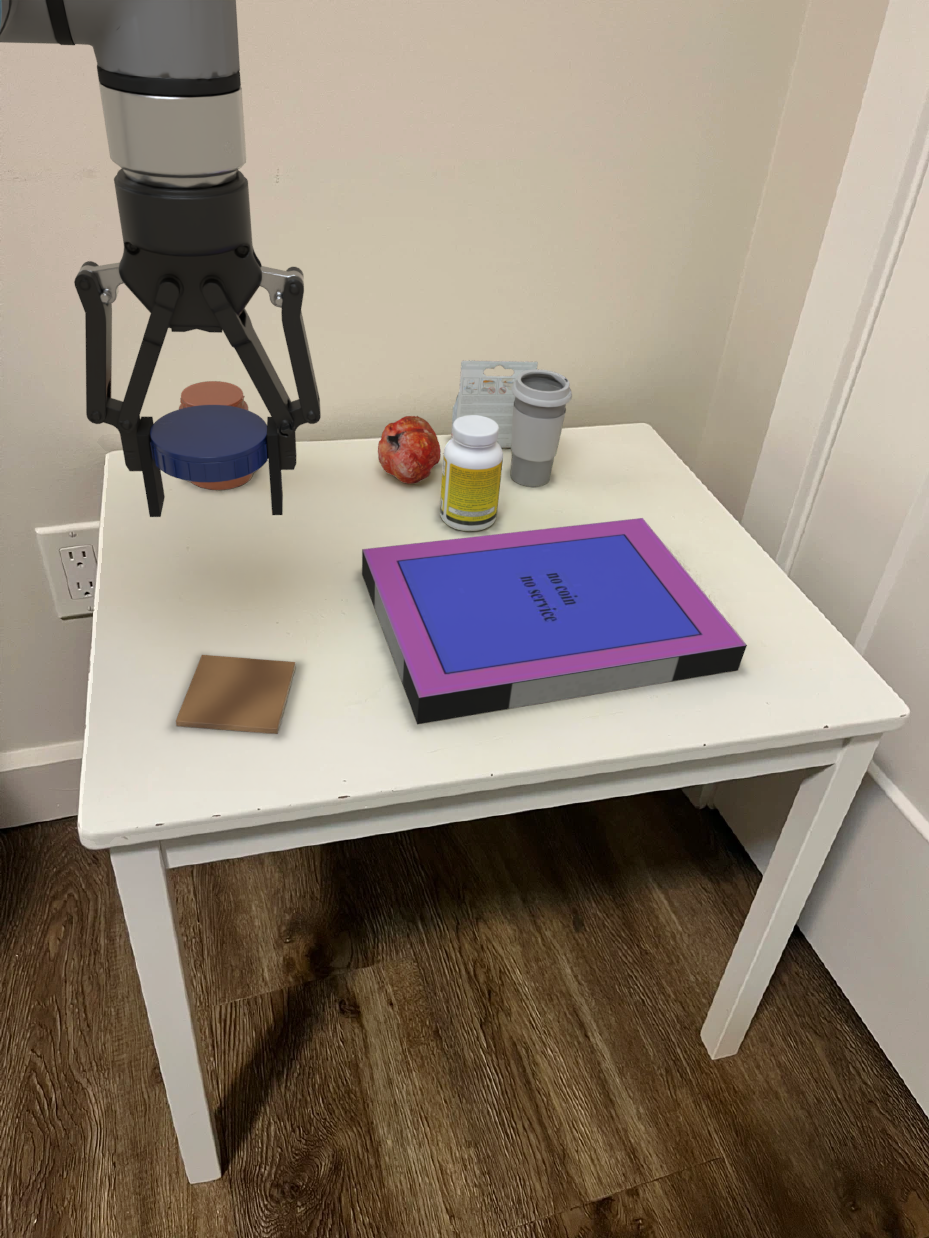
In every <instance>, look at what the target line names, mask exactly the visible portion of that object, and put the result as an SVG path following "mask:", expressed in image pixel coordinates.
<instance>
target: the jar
mask: <svg viewBox="0 0 929 1238" xmlns="http://www.w3.org/2000/svg"><path fill="white" fill-rule="evenodd" d="M179 400H180V401H179V403H180V404H179V405H178V410H179V409H182V408H186V407H192V406H199V405H226V406H233V407H238V408H242V409H245V410H248V411H250V410H249V405H248V403H247V402H246V401H245V395H244V392H243V389H241V387H239V386H238V385H236V384H234V383H231V382H227V381H221V380H219V381H218V380H207V381H199V382H196V383H192V384H190V385H187V386H186V387H185V388H183V390H182V391H181V392H180V399H179ZM253 476H254V472H253V473H251V474H249V475H247V476H244V477H241V478H238V479H234V480H229V481H222V482H192V481H189V482H190V483H191V484H193V485H194V486H196V487H199V488H201V489H206V490H212V491H222V490H224V491H225V490H231V489H235V488H238V487H242V486H243V485H246V484H247V483H248V482H249V481H251V479H252V478H253Z"/></svg>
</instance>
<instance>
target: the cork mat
mask: <svg viewBox="0 0 929 1238" xmlns="http://www.w3.org/2000/svg"><path fill="white" fill-rule="evenodd" d="M296 664H297V663H296V661H287V660H273V659H262V658H250V657H249V658H248V657H237V656H224V655H212V654H211V655H210V654H201V656H200V659H199V661H198V663H197V666H196V669H195V671H194V674H193V675H192V677H191V681H190V683H189V686H188V689H187V691H186V693H185V697H184V699H183V701H182V704H181V706H180V708H179V711H178V713H177V717H176V719H175V726H176V727H181V728H182V727H183V728H196V729H207V730H209V729H210V730H220V731H221V730H222V731H235V732H236V731H237V732H246V733H248V732H249V733H260V734H273V735H274V734H275V735H278V734H279V730H280V726H281V724H282V723H281V722H282V719H283V716H284V712H285V708H286V704H287V700H288V698H289V693H290V690H291V685H292V682H293V678H294V674H295V671H296Z"/></svg>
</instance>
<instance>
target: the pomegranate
mask: <svg viewBox="0 0 929 1238" xmlns="http://www.w3.org/2000/svg"><path fill="white" fill-rule="evenodd" d="M439 442H440V441H439V439H438V436H437V433H436V431H435V430H434V428H433V427H432V426H431V424H430V423H429V422H428V420H426V419H425V418H423V417H421V416H418V415H406V416H403V417H401V418H400V419H398V420H395V421H394V422H389V423H388V424H387V425H385V426H384V429H383V430H382V432H381V437H380V440H378V444H377V456H378V457H377V458H378V462H379V464H380V466H381V467H382V469H383V471H385V472H386V474H387V475H390V476H393V477H395V478H396V479H397V480H398V481H399V482H401V483H403V484H407V485H413V484H414V485H415V484H418V483H420V482H422V481H423V480H425V479H427V478H428V477H430V475H431V474H432V469H433V468H434V467H435V466H437V465H438V464H439V463H440V462H441V452H442V450H441V445H440V443H439Z"/></svg>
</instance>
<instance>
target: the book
mask: <svg viewBox="0 0 929 1238" xmlns="http://www.w3.org/2000/svg"><path fill="white" fill-rule="evenodd" d="M361 576H362V578H363V582H364V583H365V586H366V589H367V591H368V595H369V597H370V600H371V603H372V605H373V608H374V611H375V614H376V616H377V618H378V622H379V624H380V627H381V630H382V632H383V635H384V638H385V640H386V644H387V646H388V649H389V651H390V655H391V657H392V660H393V662H394V666H395V668H396V670H397V674H398V677H399V679H400V681H401V685H402V687H403V689H404V692H405V695H406V697H407V700H408V703H409V706H410V709H411V711H412V714H413V717H414V719H415V722H416V724H417V725H421V724H427V723H428V724H429V723H435V722H439V721H445V720H453V719H457V718H463V717H469V716H475V715H481V714H486V713H493V712H500V711H505V710H510V709H517V708H523V707H529V706H536V705H540V704H547V703H552V702H558V701H564V700H569V699H576V698H581V697H587V696H595V695H600V694H607V693H612V692H618V691H623V690H629V689H637V688H641V687H647V686H653V685H660V684H665V683H670V682H678V681H682V680H689V679H695V678H701V677H707V676H714V675H718V674H723V673H724V674H725V673H731V672H736V671H739V669H740V666H741V664H742V661H743V658H744V655H745V652H746V649H747V647H748V645H747V643H746V642H745V641H744V640H743V638H742V637H741V636H740V635H739V633H738V632H737V631H736V629H734V627H733V626H732V625H731V624H730V622H728V620H727V619H726V617H725V616H724V615H723V613H721V612H720V610H719V609H718V608H717V606H716V605H714V603H713V602H712V601H711V599H710V598H709V597H708V596H707V594H706V593H705V592H704V591H703V589H702V588H701V587H700V586H699V584H698V583H697V582H696V581H695V580H694V579H693V577H692V576H691V574H690V573H689V572H688V571H687V569H685V567H683V564H681V562H680V561H679V560H678V559H677V558H676V557H675V555H674V554H673V553H672V552H671V550H670V549H669V548H668V547H667V546H666V545H665V543H664V542H663V541H662V540H661V537H659V536H658V534H657V533H656V532H655V531H654V530H653V529H652V527H651V526H650V525H649V523H648V522H647V521H646V520H645V519H644V518H643V517H638V518H637V517H636V518H628V519H620V520H611V521H601V522H592V523H584V524H574V525H567V526H566V525H565V526H558V527H549V528H539V529H538V528H537V529H532V530H531V529H530V530H529V529H528V530H521V531H513V532H512V531H511V532H503V533H494V534H486V535H476V536H467V537H458V538H450V539H441V540H433V541H432V540H431V541H423V542H414V543H405V544H397V545H396V544H395V545H389V546H388V545H387V546H378V547H370V548H362V549H361Z"/></svg>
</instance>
